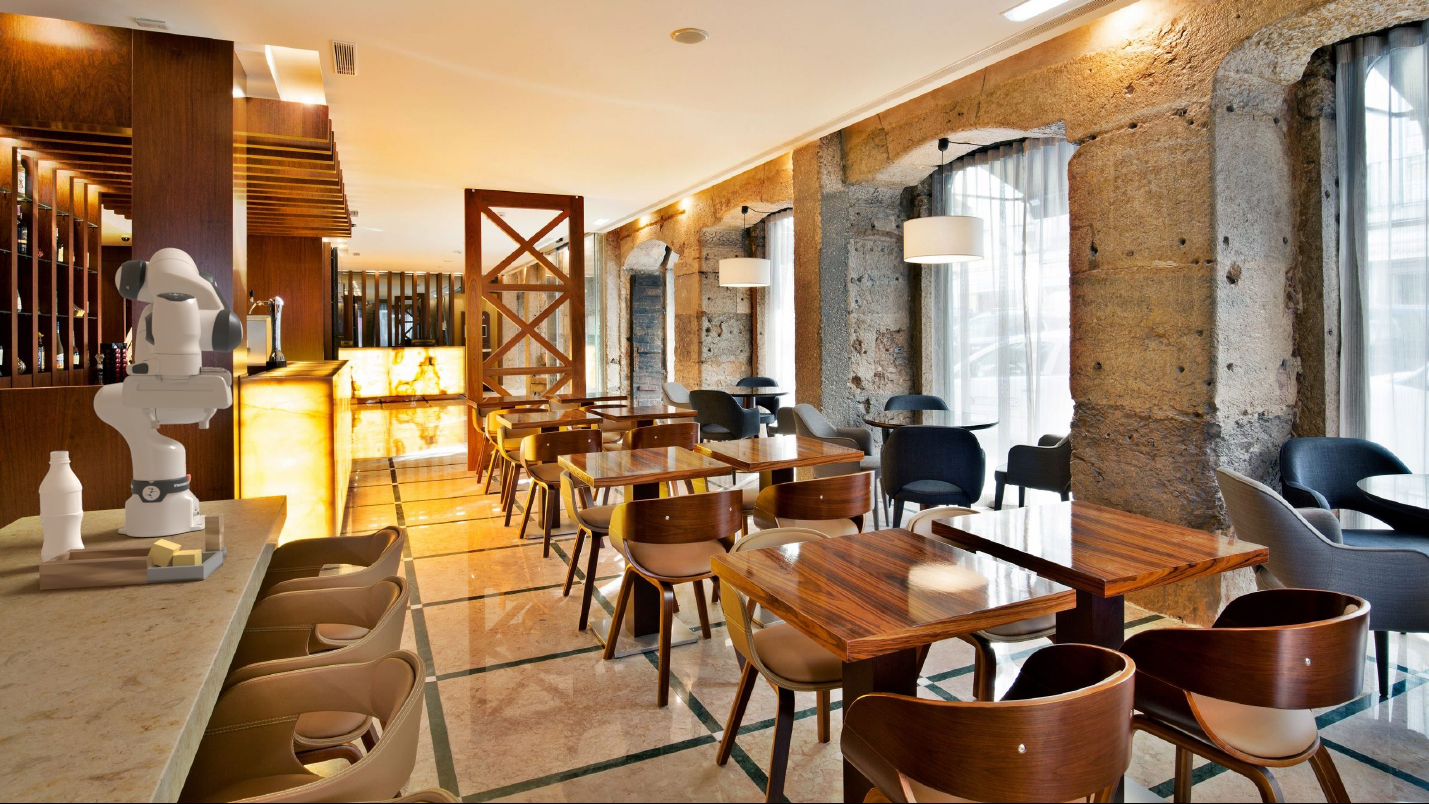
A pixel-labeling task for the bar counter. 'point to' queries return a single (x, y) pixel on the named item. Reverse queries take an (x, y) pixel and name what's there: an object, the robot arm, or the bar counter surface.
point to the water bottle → (60, 508)
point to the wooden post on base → (215, 534)
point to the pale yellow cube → (187, 558)
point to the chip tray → (187, 570)
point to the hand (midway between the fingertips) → (179, 428)
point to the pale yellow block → (163, 552)
